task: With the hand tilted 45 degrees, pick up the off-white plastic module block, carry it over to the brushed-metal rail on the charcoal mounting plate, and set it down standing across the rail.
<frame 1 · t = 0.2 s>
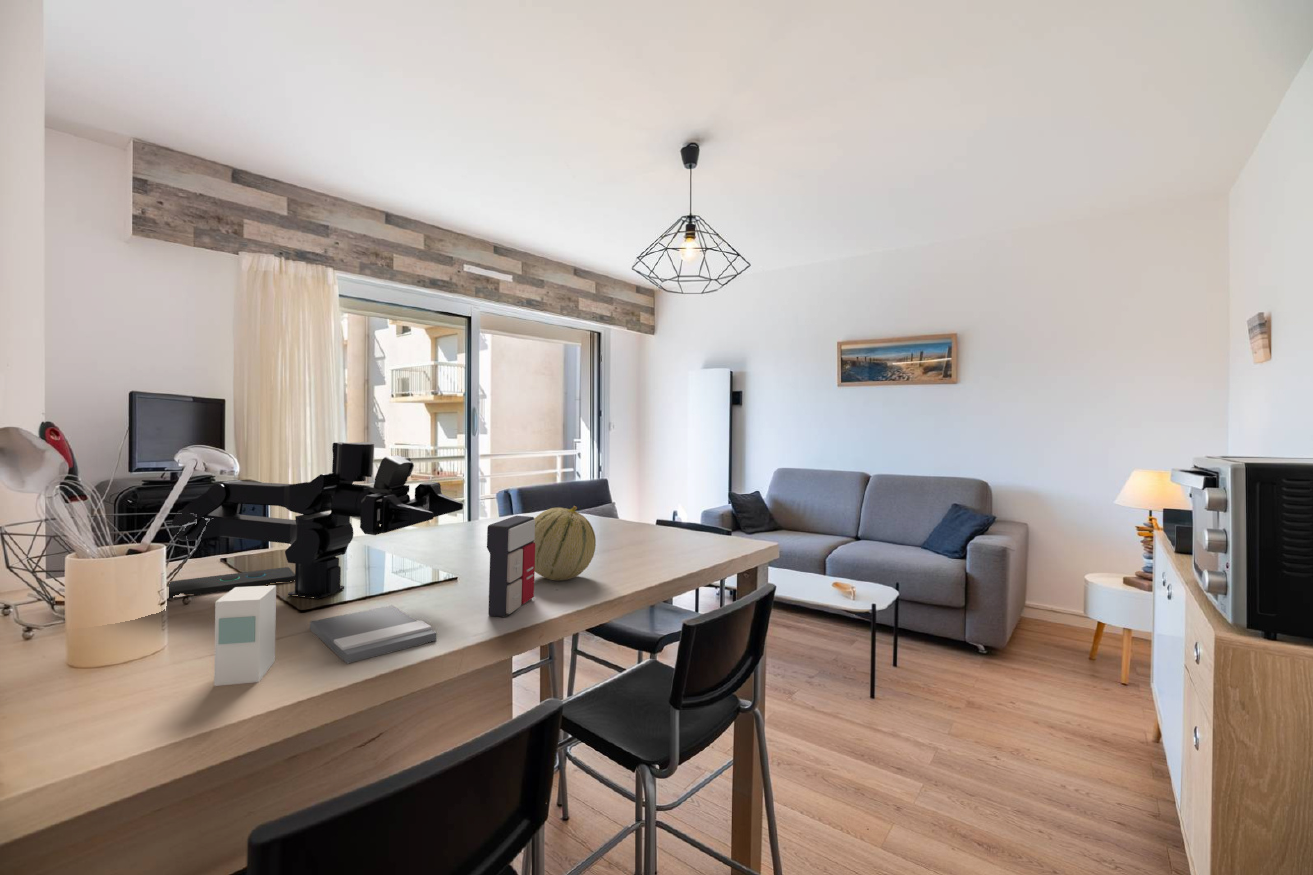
hand: (448, 511, 98), 16 cm above the counter, tool horizontal, fingers open, 9 cm apart
smart home device: (229, 588, 106), on the counter
module: (245, 673, 72), on the counter
cantaloupe: (558, 580, 118), on the counter
din rail mount: (384, 644, 82), on the counter
grey red panelled box: (511, 608, 100), on the counter
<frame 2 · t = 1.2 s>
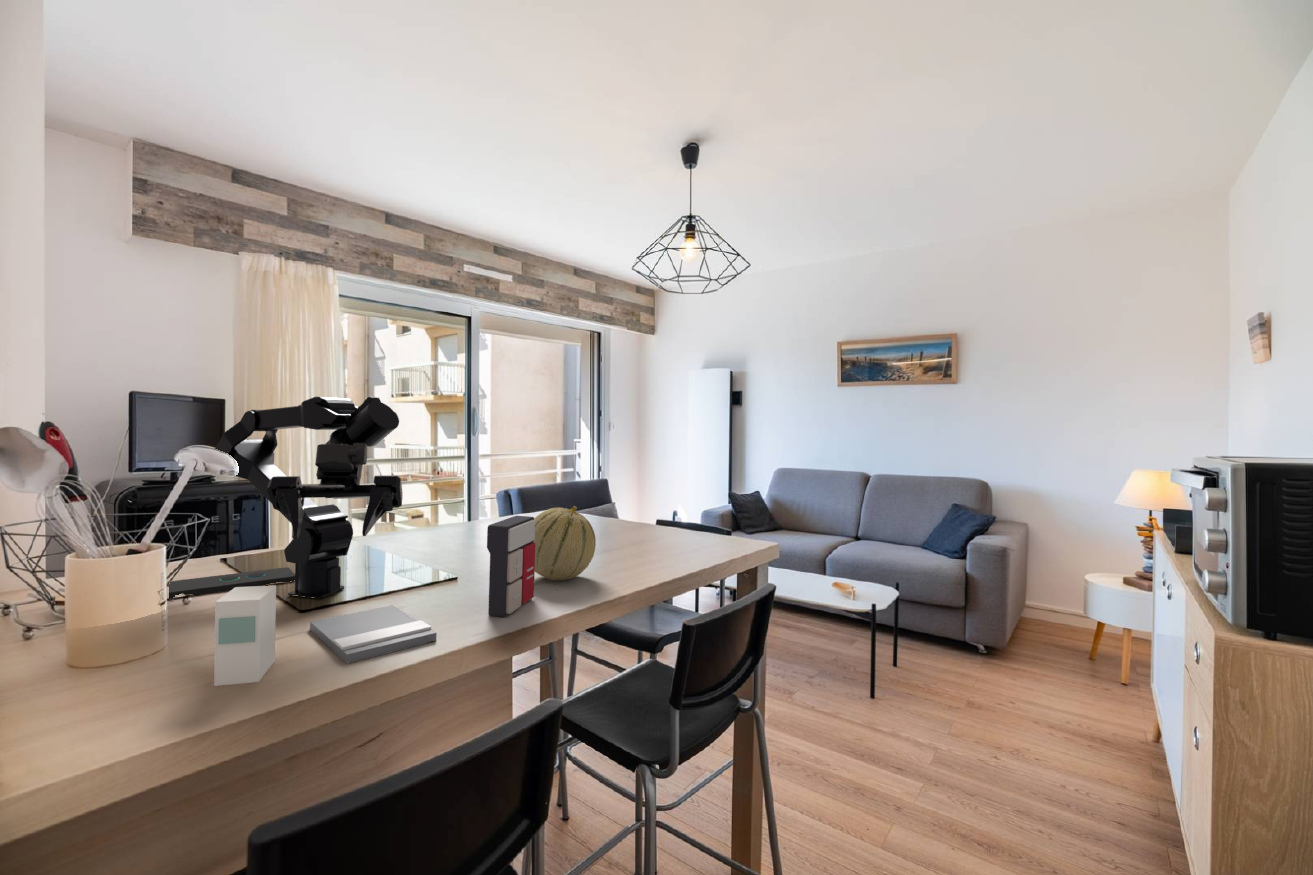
hand: (330, 535, 88), 14 cm above the counter, tool tilted 45°, fingers open, 9 cm apart
nothing on the counter moved.
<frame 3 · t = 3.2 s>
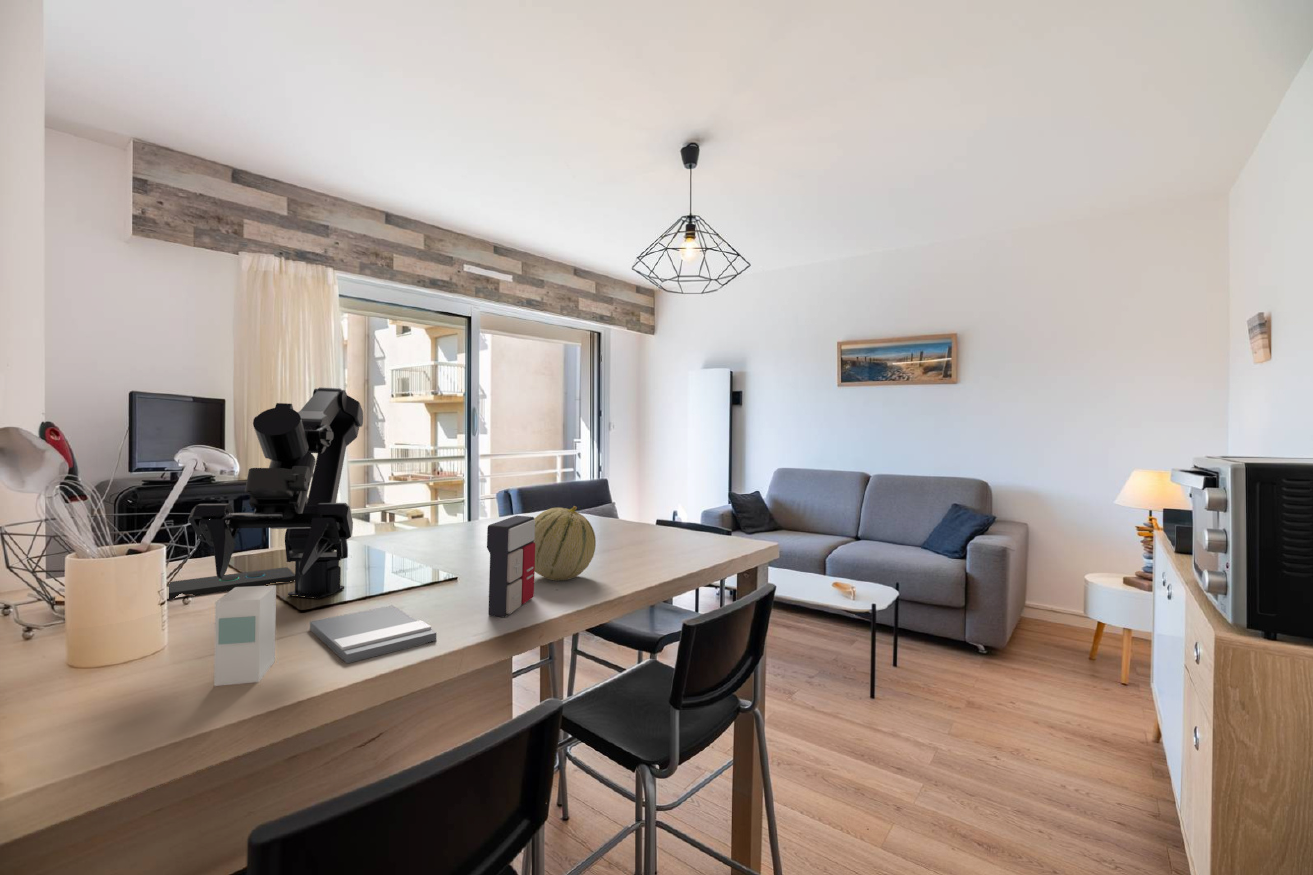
hand: (260, 575, 76), 11 cm above the counter, tool tilted 45°, fingers open, 9 cm apart
nothing on the counter moved.
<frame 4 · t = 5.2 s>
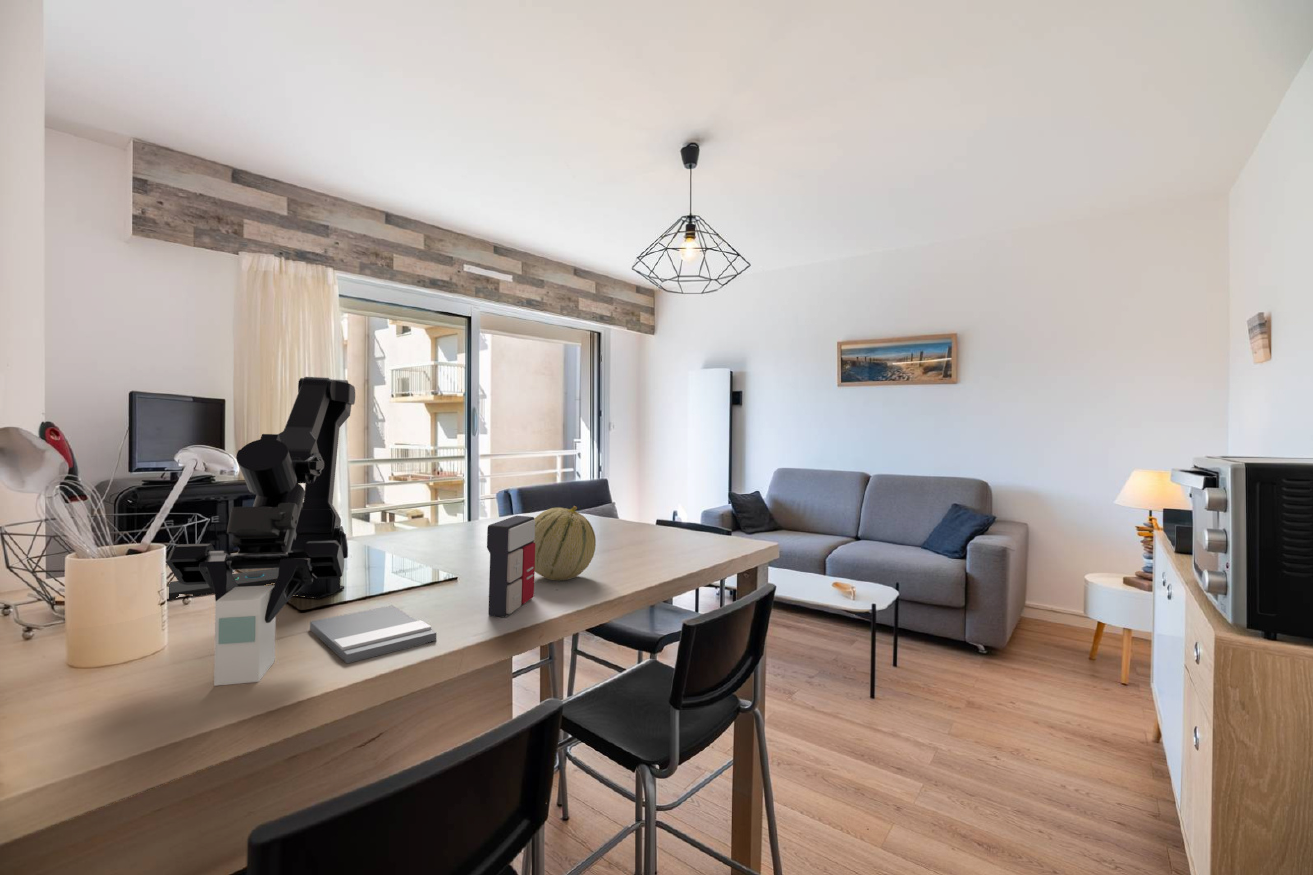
hand: (243, 622, 70), 7 cm above the counter, tool tilted 45°, fingers closed on module, 4 cm apart
module: (245, 673, 72), on the counter, touching gripper
everything else where it was.
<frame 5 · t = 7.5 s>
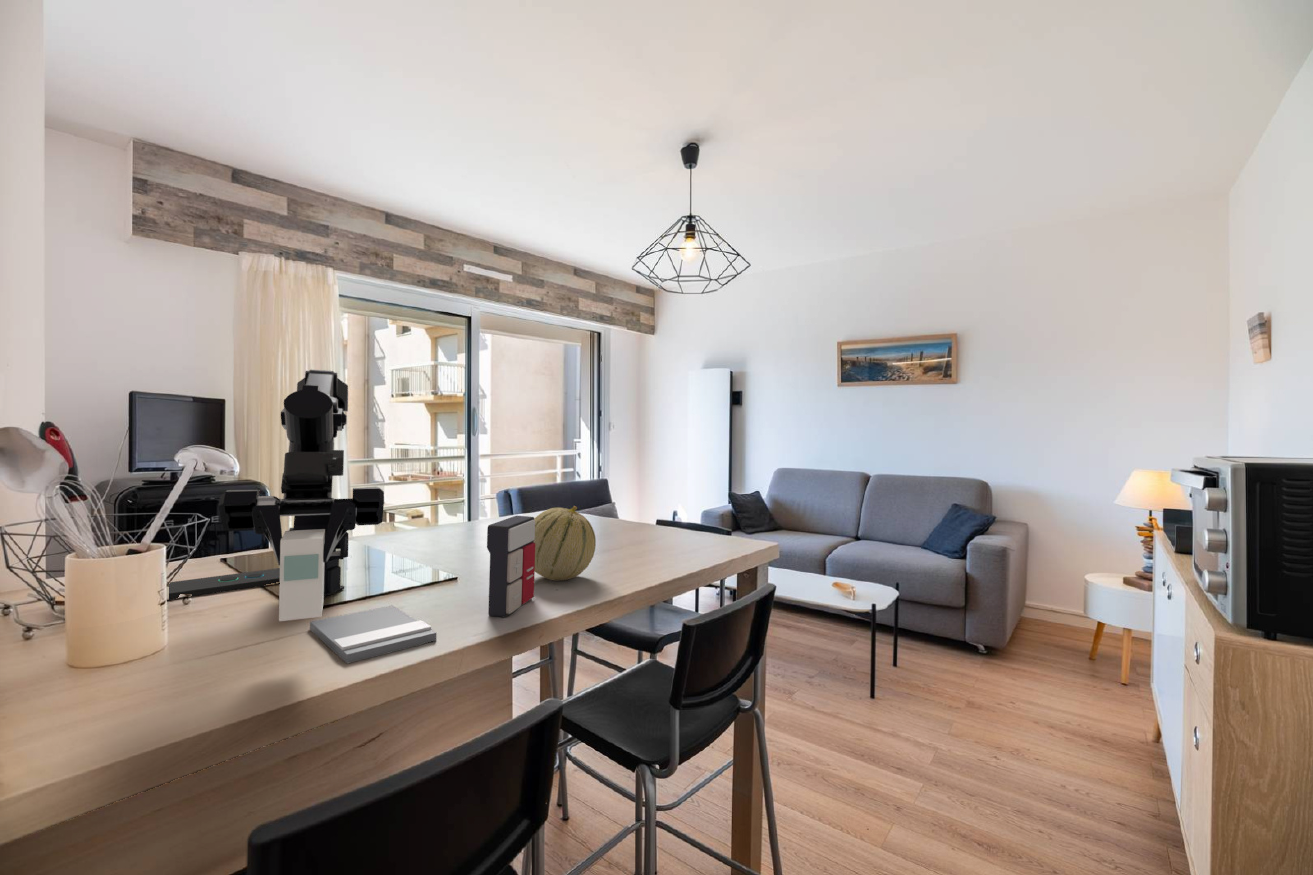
hand: (302, 562, 73), 13 cm above the counter, tool tilted 45°, fingers closed on module, 4 cm apart
module: (302, 611, 74), point 7 cm above the counter, touching gripper
everything else where it was.
when the fingers open (9 cm above the counter, at t = 10.0 s): module stays where it is, resting on din rail mount.
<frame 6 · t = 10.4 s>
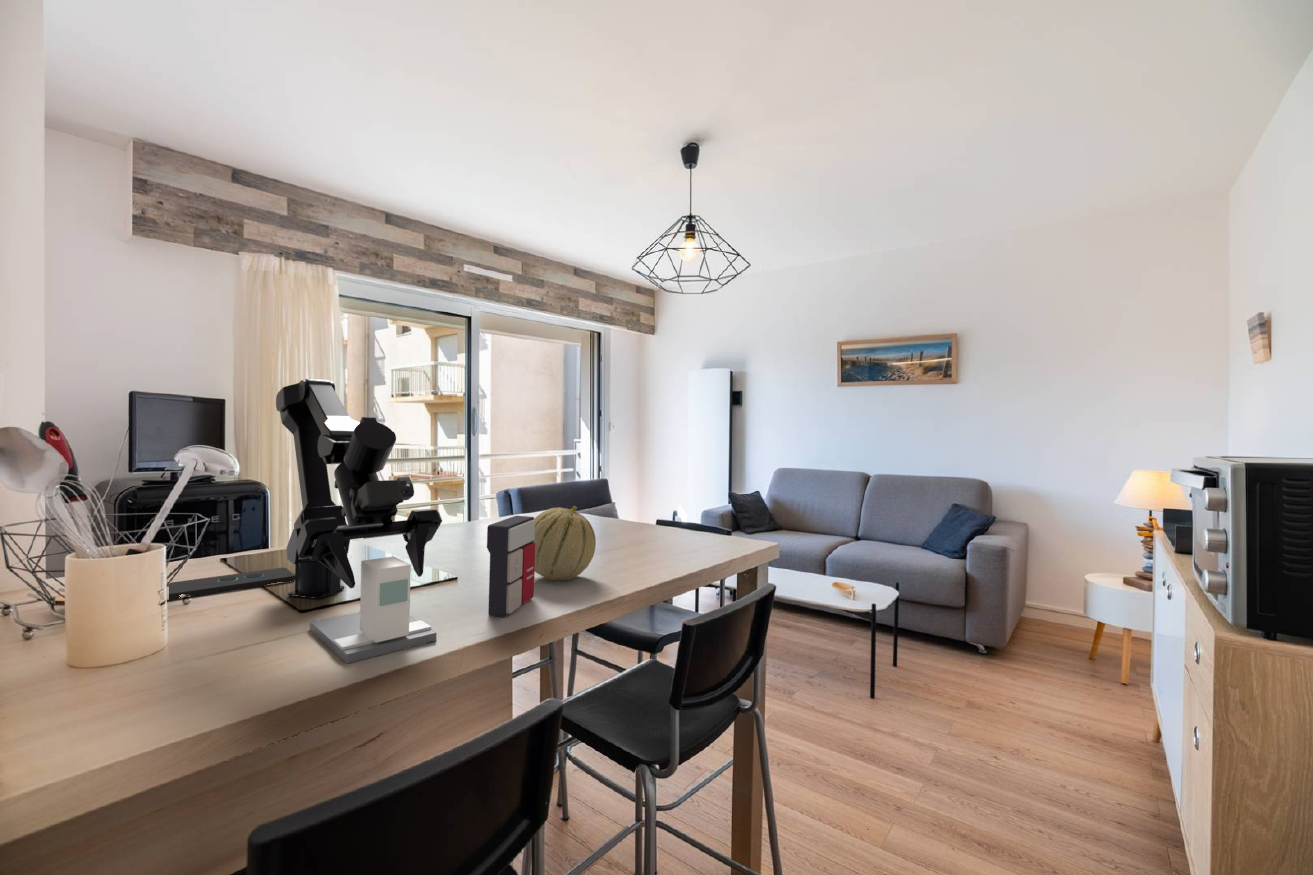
hand: (388, 580, 81), 9 cm above the counter, tool tilted 45°, fingers open, 9 cm apart
module: (384, 632, 82), point 2 cm above the counter, touching din rail mount
everything else where it was.
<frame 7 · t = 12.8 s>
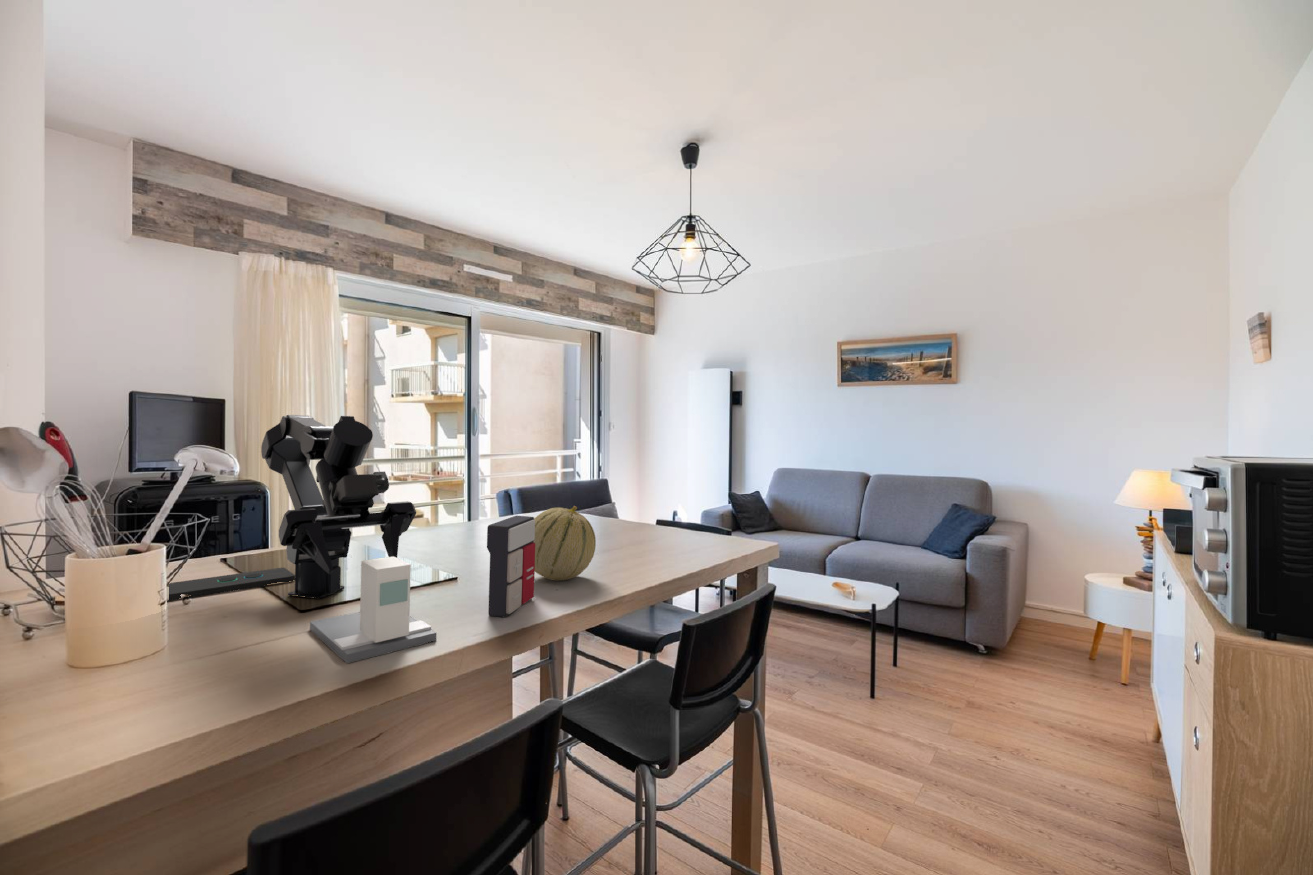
hand: (363, 567, 88), 9 cm above the counter, tool tilted 45°, fingers open, 9 cm apart
nothing on the counter moved.
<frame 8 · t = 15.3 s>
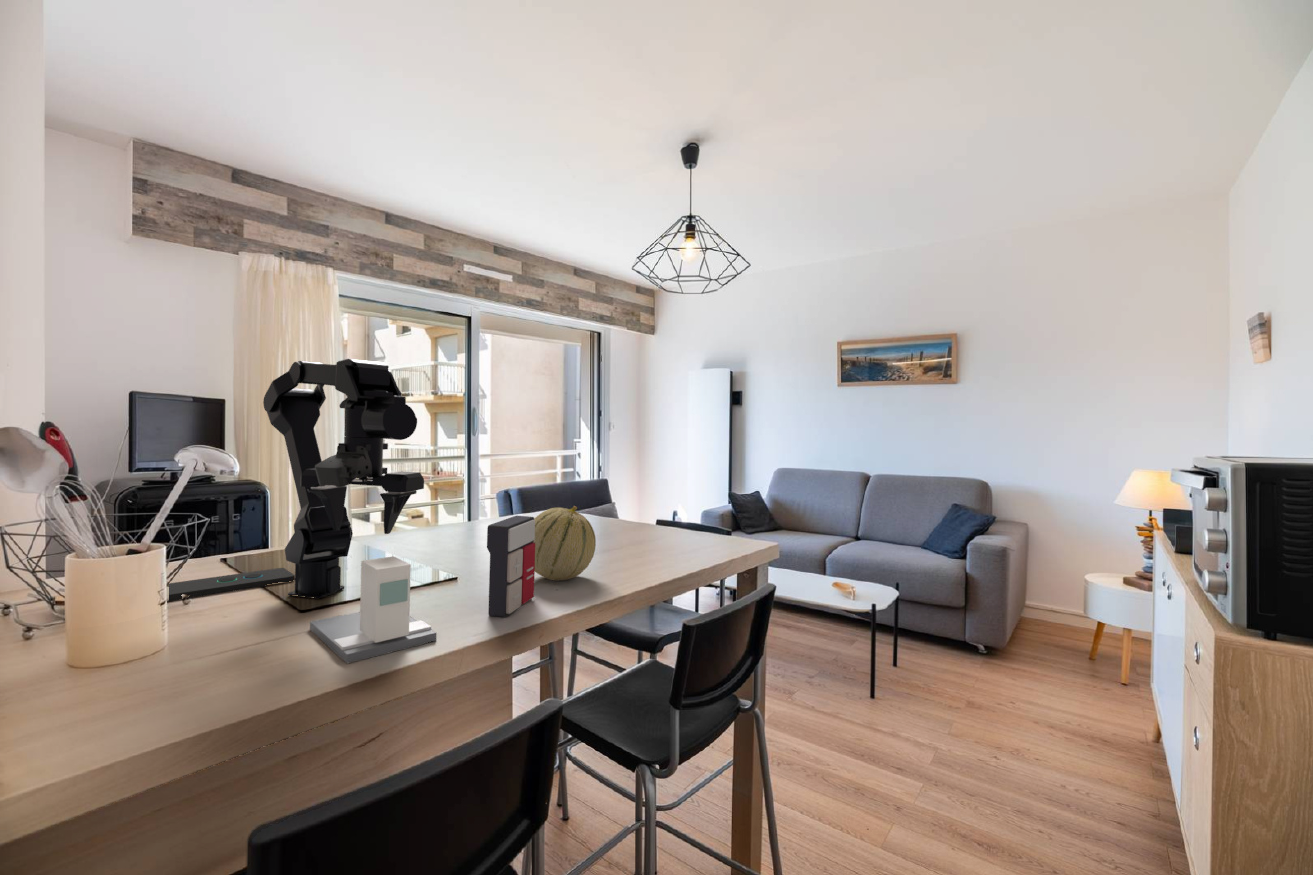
hand: (361, 531, 95), 13 cm above the counter, tool pointing down, fingers open, 9 cm apart
nothing on the counter moved.
at the end: module 0.1 cm off-centre on the din rail mount, point 1.6 cm above the din rail mount's base; module tilted 0°; the gripper is holding nothing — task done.
